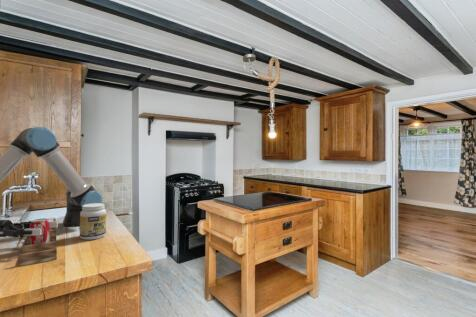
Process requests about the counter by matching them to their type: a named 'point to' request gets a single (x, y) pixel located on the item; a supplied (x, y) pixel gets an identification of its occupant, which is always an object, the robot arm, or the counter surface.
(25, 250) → the rack
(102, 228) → the supplement tub
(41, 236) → the soda can
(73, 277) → the counter surface
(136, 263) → the counter surface
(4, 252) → the counter surface
